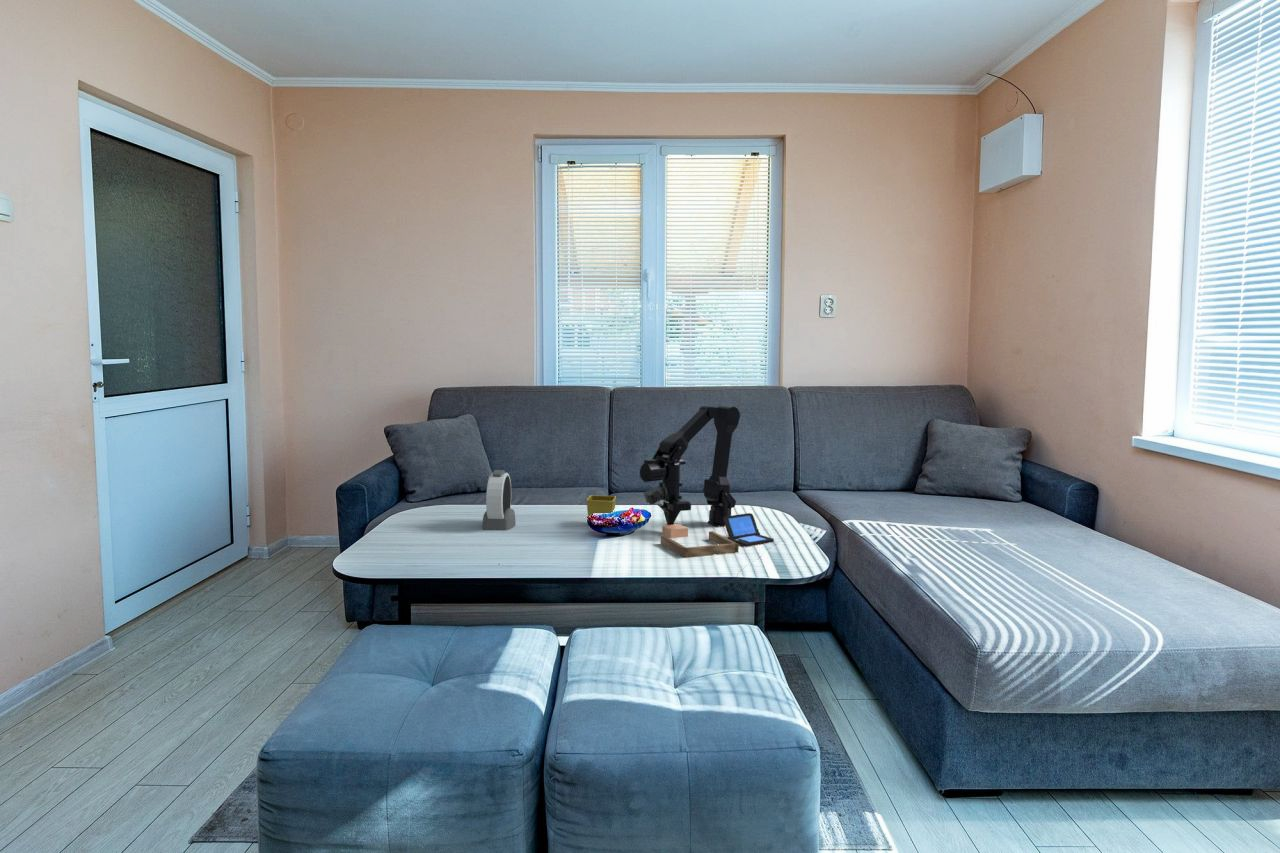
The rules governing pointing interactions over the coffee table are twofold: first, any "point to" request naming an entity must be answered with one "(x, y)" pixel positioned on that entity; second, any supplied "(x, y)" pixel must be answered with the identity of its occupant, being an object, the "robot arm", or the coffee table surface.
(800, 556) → the coffee table surface
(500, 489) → the grey ring on stand
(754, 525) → the handheld game console
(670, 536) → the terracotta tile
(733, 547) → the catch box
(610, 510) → the flower pot
